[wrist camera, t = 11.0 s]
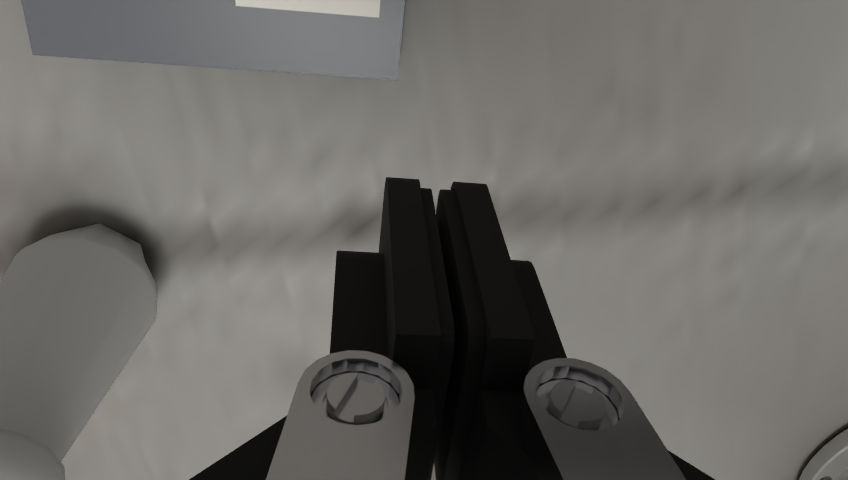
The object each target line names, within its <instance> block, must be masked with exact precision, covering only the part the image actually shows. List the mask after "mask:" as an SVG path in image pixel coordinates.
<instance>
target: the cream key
mask: <svg viewBox="0 0 848 480" xmlns="http://www.w3.org/2000/svg"><path fill="white" fill-rule="evenodd" d="M235 2H236V6H243V7H255V8H267V9H279V10H291V11H303V12H316V13H328V14H340V15H352V16H364V17H377V18H379V12H380V0H235Z"/></svg>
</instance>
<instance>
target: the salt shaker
mask: <svg viewBox="0 0 848 480" xmlns="http://www.w3.org/2000/svg"><path fill="white" fill-rule="evenodd" d="M156 312H157V285H156V283H155V281H154V279H153V277H152V275H151V273H150V271H149V268H148V266H147V264H146V262H145V259H144V255H143V251H142V247H141V244H139V243H137V242H135V241H134V240H132V239H130V238H128V237H126V236H124V235H122V234H120V233H118V232H116V231H114V230H112V229H110V228H108V227H106V226H104V225H102V224H100V223H99V224H94V225H90V226H86V227H82V228H77V229H73V230H69V231H65V232H61V233H57V234H53V235H49V236H47V237H45V238H43V239H41V240H39V241H37V242H35V243H33V244H31V245H28V246H26V247H24V248H23V249H22V250H20V251H19V252H18V253H17V254H16V255H15V257H14V259H13V260H12V262H11V264H10V266H9V267H8V269H7V271H6V273H5V274H4V276H3V279H2V282H1V285H0V480H65V469H64V465H63V464H62V463H61V461H62V459H63V458H64V456H65V455H66V453H67V452H68V450H69V449H70V447H71V446H72V444H73V443H74V441H75V440H76V438H77V437H78V435H79V434H80V432H81V431H82V429H83V428H84V426H85V425H86V423H87V422H88V420H89V419H90V417H91V416H92V414H93V413H94V411H95V410H96V408H97V407H98V405H99V404H100V402H101V401H102V399H103V398H104V396H105V395H106V393H107V392H108V390H109V389H110V387H111V386H112V384H113V383H114V381H115V380H116V378H117V377H118V375H119V374H120V372H121V371H122V369H123V368H124V366H125V365H126V363H127V362H128V360H129V359H130V357H131V356H132V354H133V353H134V351H135V350H136V348H137V347H138V345H139V344H140V342H141V341H142V339H143V338H144V336H145V335H146V333H147V332H148V330H149V329H150V327H151V326H152V324H153V323H154V321H155V319H156Z"/></svg>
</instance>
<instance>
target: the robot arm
mask: <svg viewBox="0 0 848 480" xmlns="http://www.w3.org/2000/svg"><path fill="white" fill-rule="evenodd" d="M433 466H435V476H436V480H715V479H713V478H712V477H710V476H708V475H707V474H705V473H703V472H702V471H700V470H699V469H697V468H695V467H694V466H692V465H691V464H689V463H687V462H686V461H684V460H682V459H681V458H679V457H678V456H676V455H674V454H673V453H671V452H670V451H668V450H667V449H666V447H665V446H664V444H663V442H662V441H661V439H660V438H659V436H658V435H657V433H656V432H655V430H654V428H653V427H652V425H651V424H650V422H649V421H648V419H647V418H646V416H645V414H644V413H643V411H642V410H641V408H640V407H639V405H638V404H637V402H636V400H635V399H634V397H633V396H632V394H631V393H630V391H629V390H628V389H627V388H626V387H625V385H624V384H623V383H622V382H621V381H620V380H619V379H618V378H616V377H615V376H614V375H612V374H611V373H610V372H608V371H607V370H605V369H603V368H601V367H599V366H597V365H594V364H592V363H590V362H586V361H582V360H578V359H571V358H567V357H566V354H565V351H564V349H563V346H562V343H561V340H560V338H559V335H558V332H557V329H556V327H555V324H554V321H553V318H552V315H551V313H550V310H549V307H548V304H547V302H546V299H545V296H544V293H543V291H542V288H541V285H540V282H539V280H538V277H537V274H536V271H535V269H534V266H533V265H532V263H531V262H529V261H519V260H510V256H509V253H508V250H507V247H506V244H505V241H504V237H503V234H502V231H501V228H500V225H499V222H498V219H497V215H496V212H495V209H494V206H493V203H492V200H491V196H490V193H489V190H488V187H487V185H486V184H477V183H462V182H453V184H452V186H451V190H440V192H439V196H438V203H437V210H436V214H435V208H434V202H433V196H432V190H431V189H426V188H420V182H419V180H418V179H403V178H389V177H386V182H385V190H384V201H383V212H382V223H381V234H380V244H379V253H371V252H353V251H337V256H336V271H335V286H334V301H333V316H332V331H331V346H330V354H329V355H327V356H325V357H322V358H320V359H318V360H316V361H315V362H314V363H313V364H311V365H310V366H309V367H308V368H307V369H306V370H305V371H304V373H303V375H302V376H301V378H300V380H299V382H298V385H297V388H296V391H295V394H294V397H293V400H292V403H291V406H290V409H289V412H288V415H287V416H286V417H284V418H283V419H281V420H280V421H278V422H277V423H275V424H274V425H272V426H270V427H269V428H267V429H266V430H264V431H263V432H261V433H260V434H258V435H257V436H255V437H254V438H252V439H251V440H249V441H248V442H246V443H245V444H243V445H241V446H240V447H238V448H237V449H235V450H234V451H232V452H231V453H229V454H228V455H226V456H225V457H223V458H222V459H220V460H219V461H217V462H216V463H214V464H212V465H211V466H209V467H208V468H206V469H205V470H203V471H202V472H200V473H199V474H197V475H196V476H194V477H193V478H191V479H190V480H431V477H432V471H433ZM799 480H848V429H846V430H844V431H843V432H841V433H840V434H838V435H837V436H836V437H834V438H833V439H832V440H831V441H829V442H828V443H827V444H826V445H824V446H823V447H822V448H821V449H820V450H819V451H818V452H817V453H816V454H815V455H814V456H813V457H812V459H811V460H810V461H809V463H808V464H807V466H806V467H805V469H804V470H803V472H802V474H801V476H800V479H799Z"/></svg>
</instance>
